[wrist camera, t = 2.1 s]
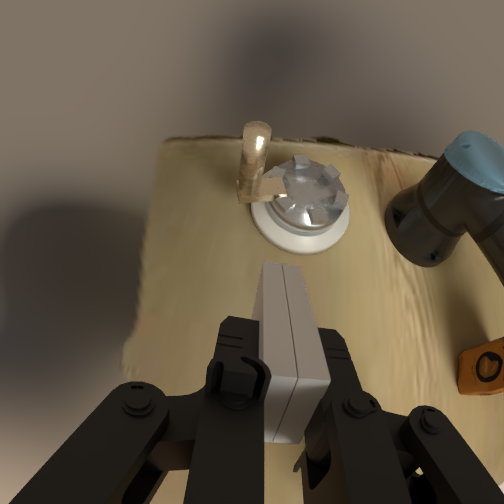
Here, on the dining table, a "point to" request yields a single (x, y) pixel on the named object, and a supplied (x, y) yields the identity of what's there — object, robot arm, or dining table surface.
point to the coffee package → (482, 369)
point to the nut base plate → (296, 242)
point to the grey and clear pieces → (289, 186)
